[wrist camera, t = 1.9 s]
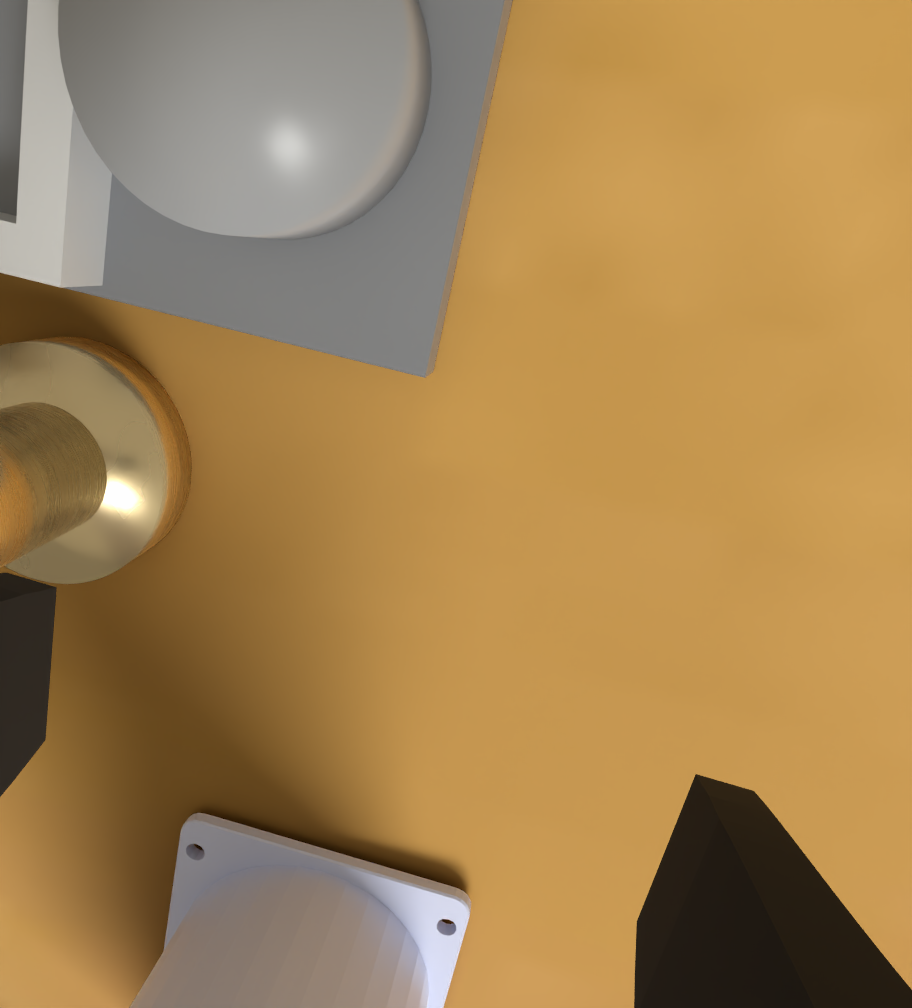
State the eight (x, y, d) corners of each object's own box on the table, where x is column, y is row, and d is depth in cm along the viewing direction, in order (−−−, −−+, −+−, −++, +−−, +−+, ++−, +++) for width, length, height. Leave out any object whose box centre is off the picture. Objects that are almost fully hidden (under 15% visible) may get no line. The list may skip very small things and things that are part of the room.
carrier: (433, 371, 18) (399, 395, 15) (-262, 200, 19) (-436, 186, 16) (546, -161, 15) (537, -280, 12) (-286, -324, 16) (-507, -473, 13)
